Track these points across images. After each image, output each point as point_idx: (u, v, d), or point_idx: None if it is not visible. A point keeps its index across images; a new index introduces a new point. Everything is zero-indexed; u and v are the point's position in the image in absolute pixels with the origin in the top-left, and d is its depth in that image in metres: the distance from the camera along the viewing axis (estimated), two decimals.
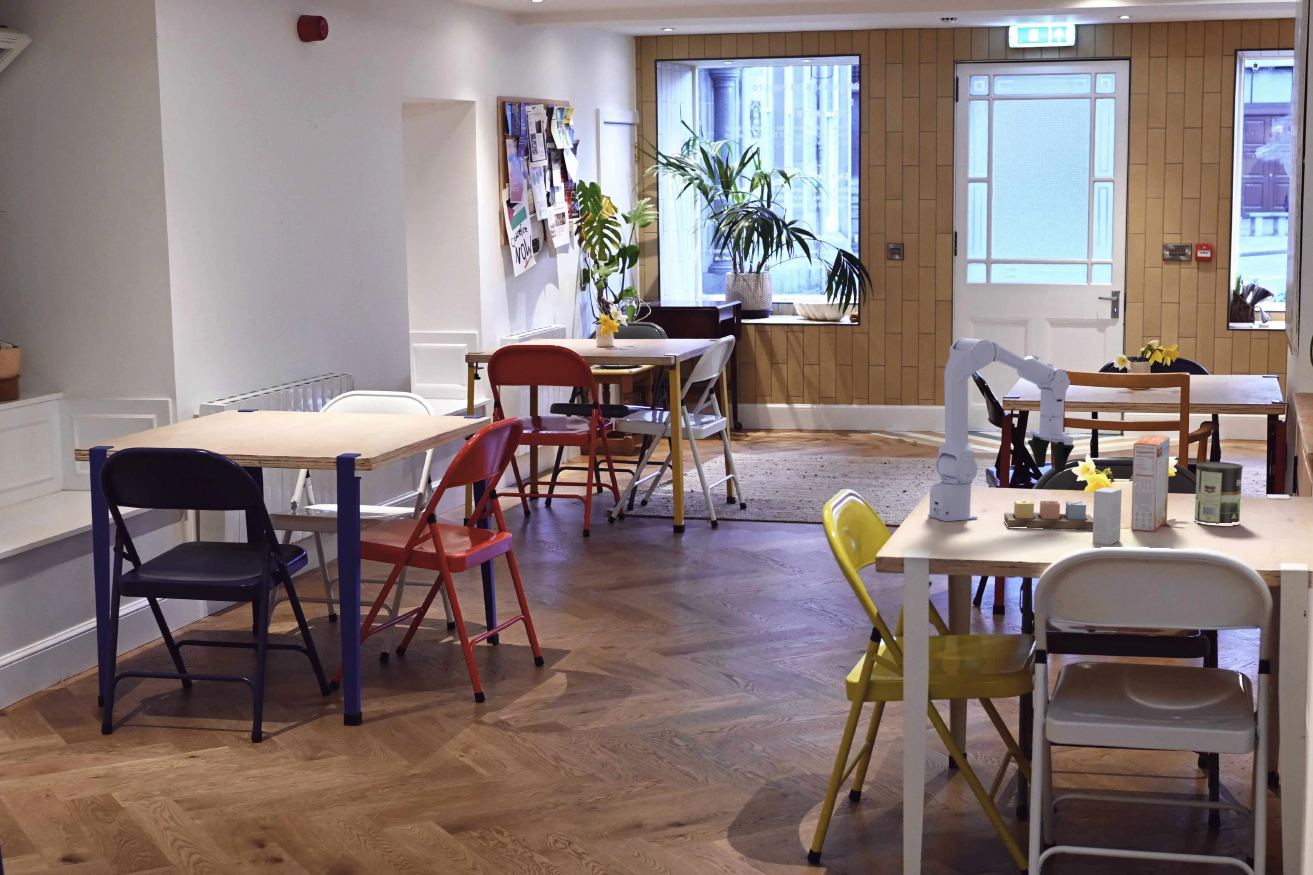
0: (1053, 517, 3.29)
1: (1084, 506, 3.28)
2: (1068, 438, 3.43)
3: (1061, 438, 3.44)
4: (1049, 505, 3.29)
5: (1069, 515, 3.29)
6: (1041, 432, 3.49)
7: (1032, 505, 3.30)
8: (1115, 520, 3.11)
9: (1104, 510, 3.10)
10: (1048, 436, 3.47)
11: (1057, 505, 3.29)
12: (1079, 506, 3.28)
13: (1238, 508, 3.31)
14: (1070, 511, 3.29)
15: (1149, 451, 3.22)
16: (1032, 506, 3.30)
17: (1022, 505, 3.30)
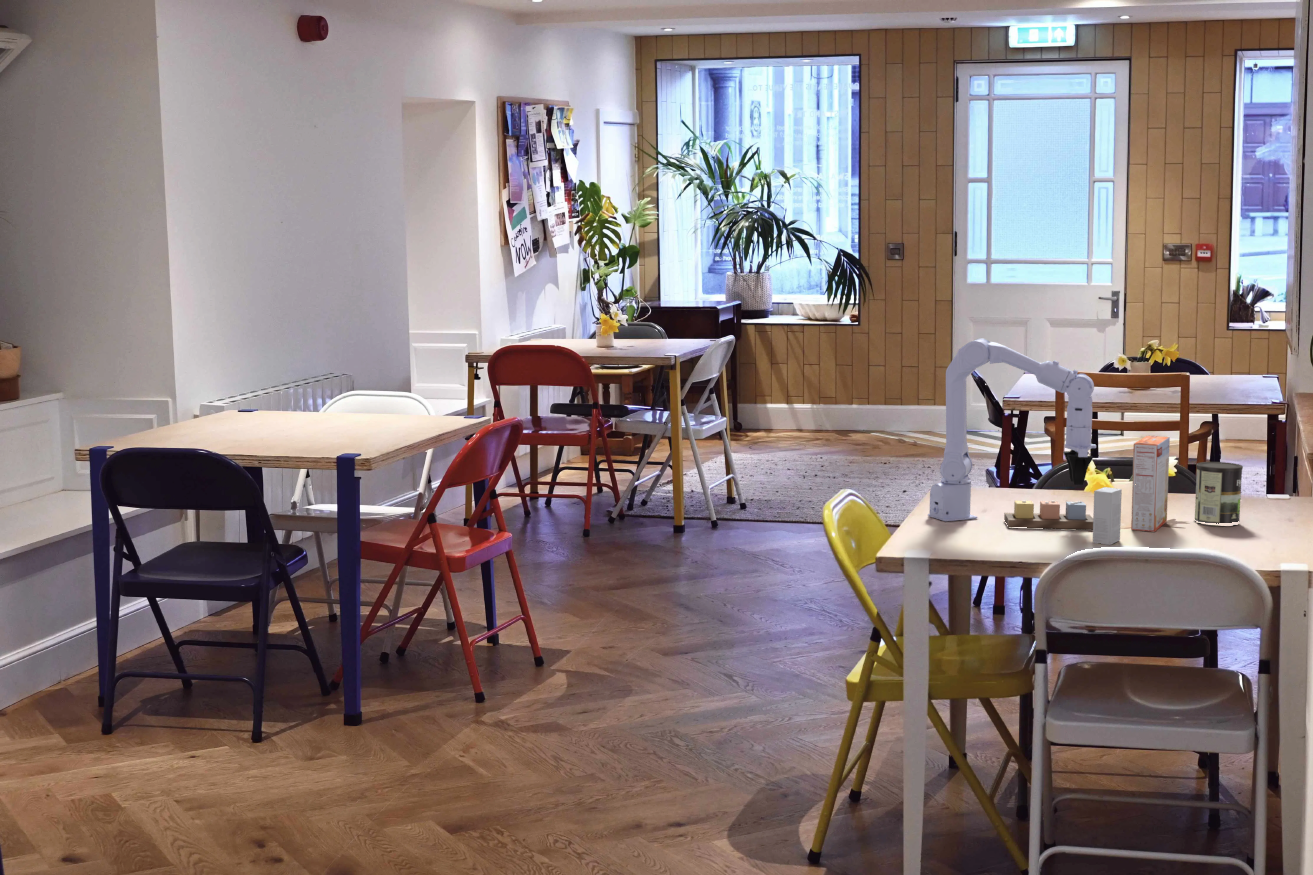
0: (1053, 517, 3.29)
1: (1084, 506, 3.28)
2: (1081, 450, 3.21)
3: (1076, 449, 3.23)
4: (1049, 505, 3.29)
5: (1069, 515, 3.29)
6: None
7: (1032, 505, 3.30)
8: (1115, 520, 3.11)
9: (1104, 510, 3.10)
10: (1068, 447, 3.27)
11: (1057, 505, 3.29)
12: (1079, 506, 3.28)
13: (1238, 508, 3.31)
14: (1070, 511, 3.29)
15: (1149, 451, 3.22)
16: (1032, 506, 3.30)
17: (1022, 505, 3.30)
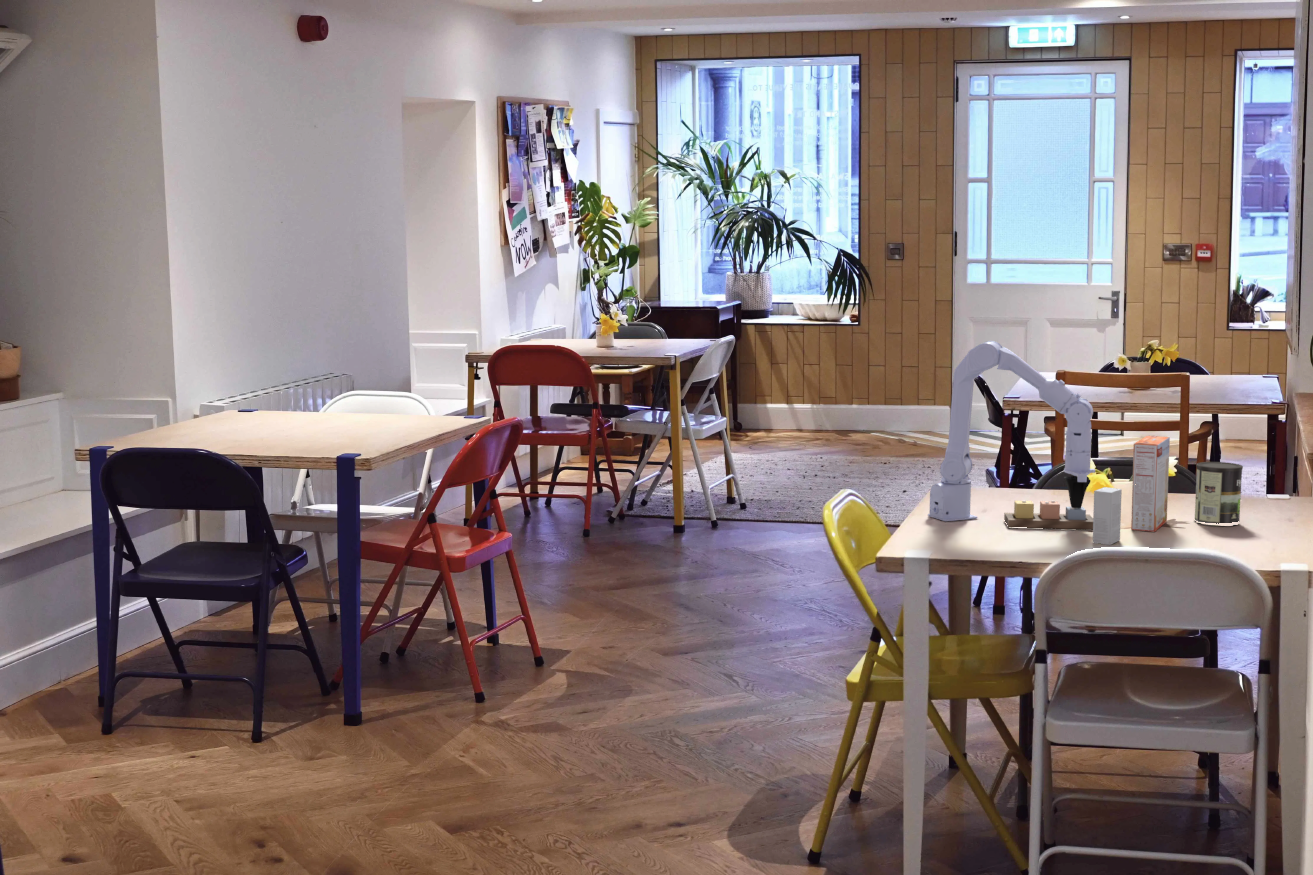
0: (1053, 517, 3.29)
1: (1084, 511, 3.28)
2: (1080, 475, 3.22)
3: (1076, 474, 3.24)
4: (1049, 505, 3.29)
5: None
6: (1065, 467, 3.30)
7: (1032, 505, 3.30)
8: (1115, 520, 3.11)
9: (1104, 510, 3.10)
10: (1068, 471, 3.27)
11: (1057, 505, 3.29)
12: (1079, 511, 3.28)
13: (1238, 508, 3.31)
14: (1070, 516, 3.29)
15: (1149, 451, 3.22)
16: (1032, 506, 3.30)
17: (1022, 505, 3.30)
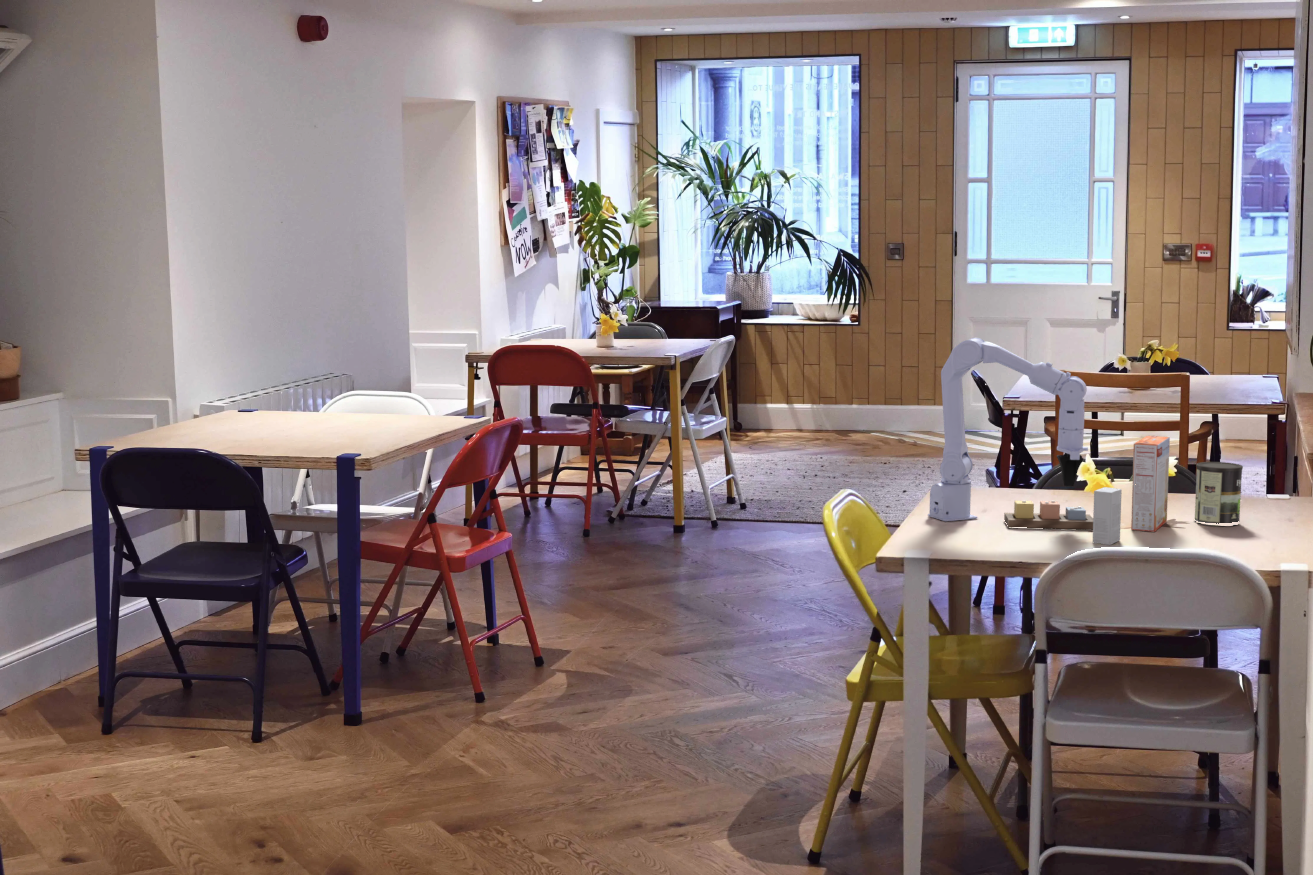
0: (1053, 517, 3.29)
1: (1084, 511, 3.28)
2: (1073, 453, 3.22)
3: (1068, 452, 3.23)
4: (1049, 505, 3.29)
5: None
6: (1058, 445, 3.29)
7: (1032, 505, 3.30)
8: (1115, 520, 3.11)
9: (1104, 510, 3.10)
10: (1060, 449, 3.27)
11: (1057, 505, 3.29)
12: (1079, 511, 3.28)
13: (1238, 508, 3.31)
14: (1070, 516, 3.29)
15: (1149, 451, 3.22)
16: (1032, 506, 3.30)
17: (1022, 505, 3.30)
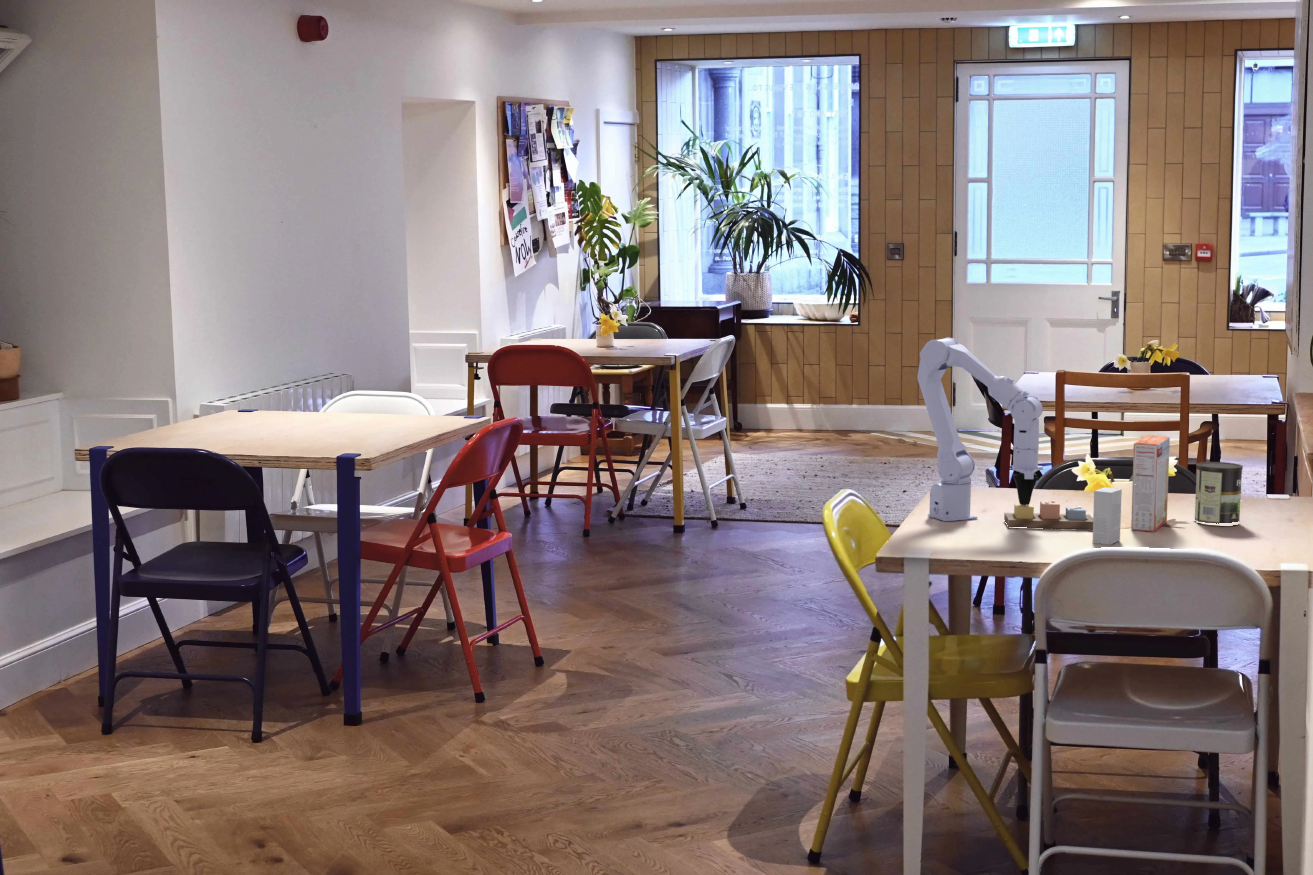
0: (1053, 517, 3.29)
1: (1084, 511, 3.28)
2: (1027, 472, 3.24)
3: (1023, 472, 3.25)
4: (1049, 505, 3.29)
5: None
6: (1013, 464, 3.31)
7: (1032, 508, 3.30)
8: (1115, 520, 3.11)
9: (1104, 510, 3.10)
10: (1015, 469, 3.29)
11: (1057, 505, 3.29)
12: (1079, 511, 3.28)
13: (1238, 508, 3.31)
14: (1070, 516, 3.29)
15: (1149, 451, 3.22)
16: (1032, 509, 3.30)
17: (1022, 508, 3.30)
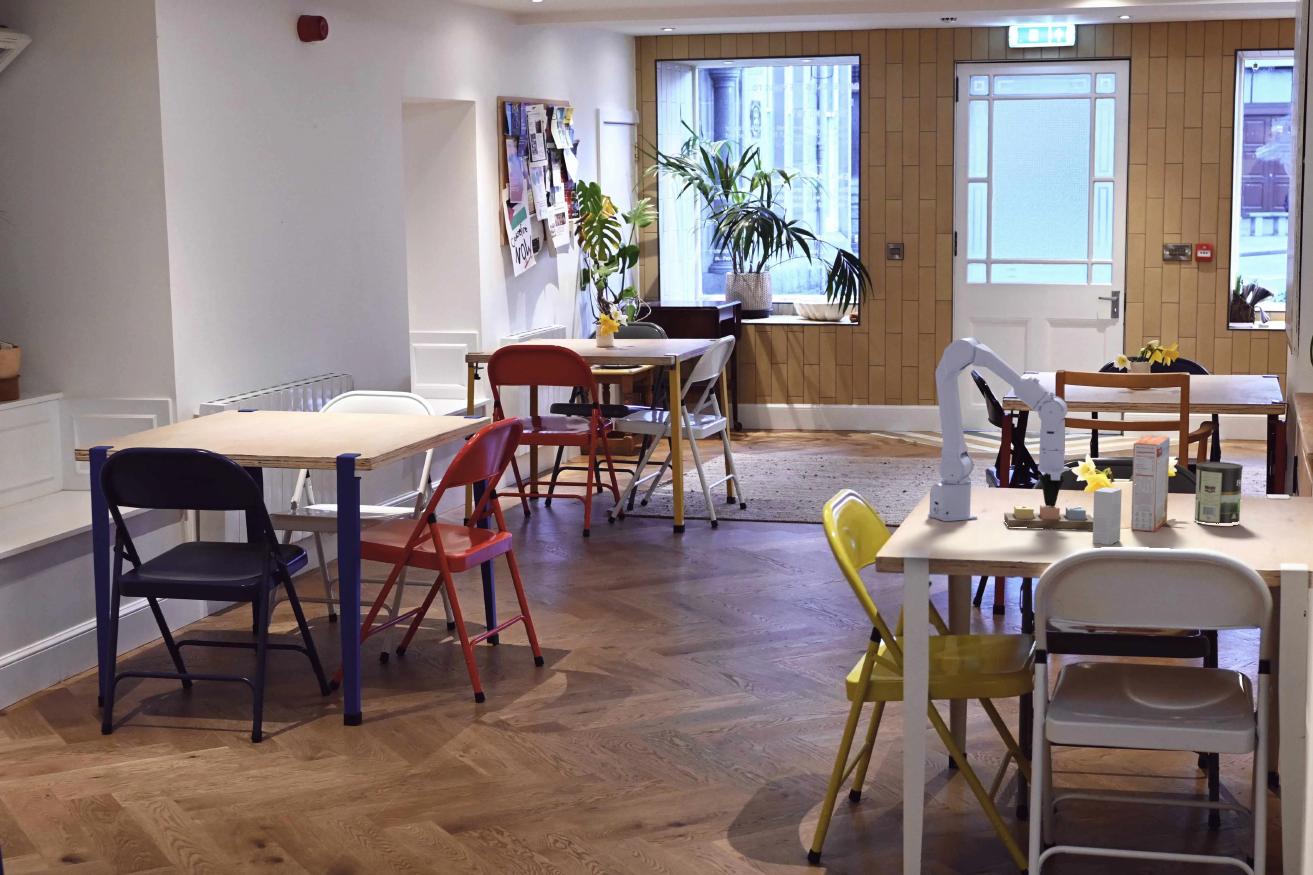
0: None
1: (1084, 511, 3.28)
2: (1053, 473, 3.23)
3: (1049, 473, 3.25)
4: (1049, 509, 3.29)
5: None
6: (1039, 465, 3.30)
7: (1032, 510, 3.30)
8: (1115, 520, 3.11)
9: (1104, 510, 3.10)
10: (1041, 470, 3.28)
11: (1057, 509, 3.29)
12: (1079, 511, 3.28)
13: (1238, 508, 3.31)
14: (1070, 516, 3.29)
15: (1149, 451, 3.22)
16: (1032, 511, 3.30)
17: (1022, 510, 3.30)
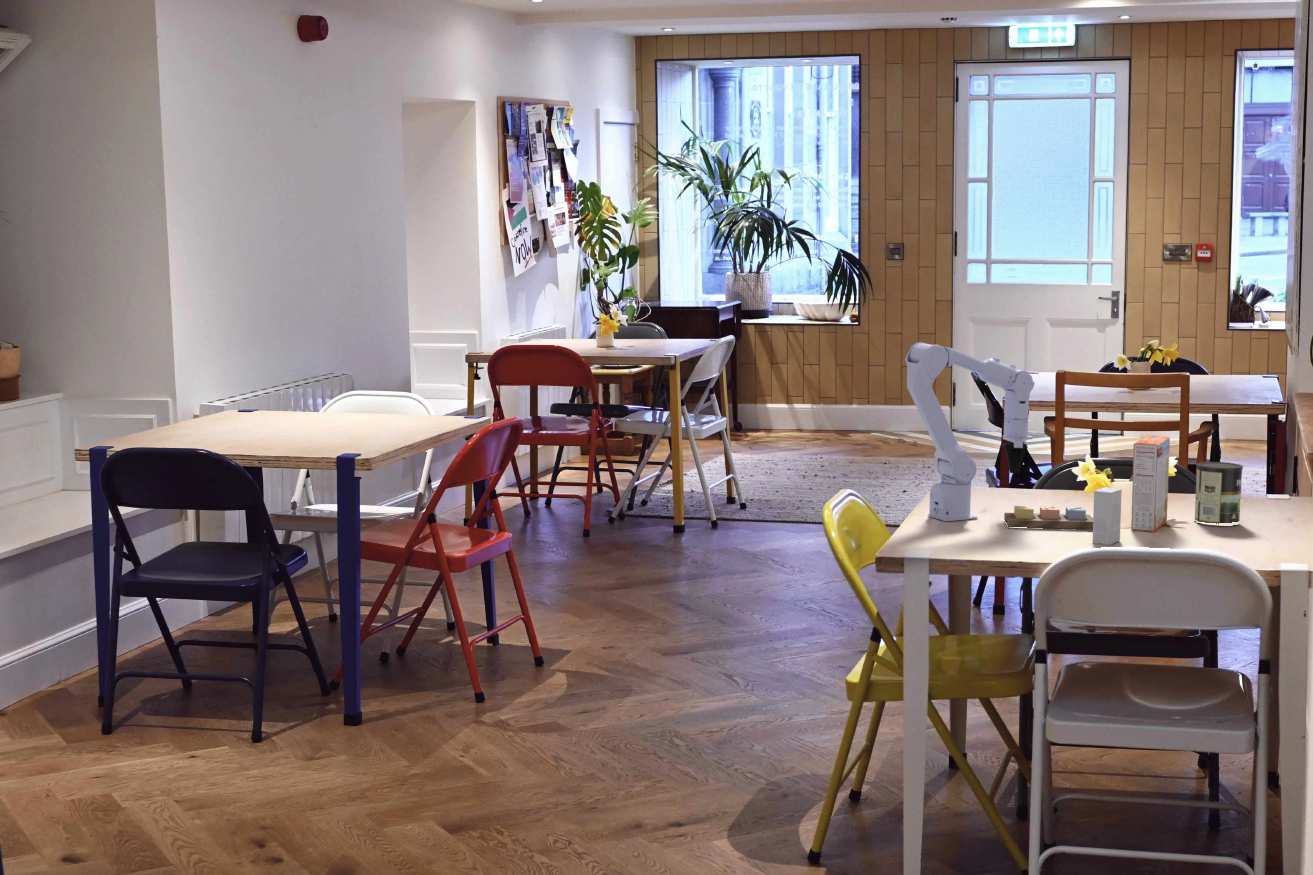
0: None
1: (1084, 511, 3.28)
2: (1016, 441, 3.36)
3: (1012, 441, 3.38)
4: (1049, 510, 3.29)
5: None
6: None
7: (1032, 510, 3.30)
8: (1115, 520, 3.11)
9: (1104, 510, 3.10)
10: (1006, 438, 3.41)
11: (1057, 510, 3.29)
12: (1079, 511, 3.28)
13: (1238, 508, 3.31)
14: (1070, 516, 3.29)
15: (1149, 451, 3.22)
16: (1032, 511, 3.30)
17: (1022, 510, 3.30)
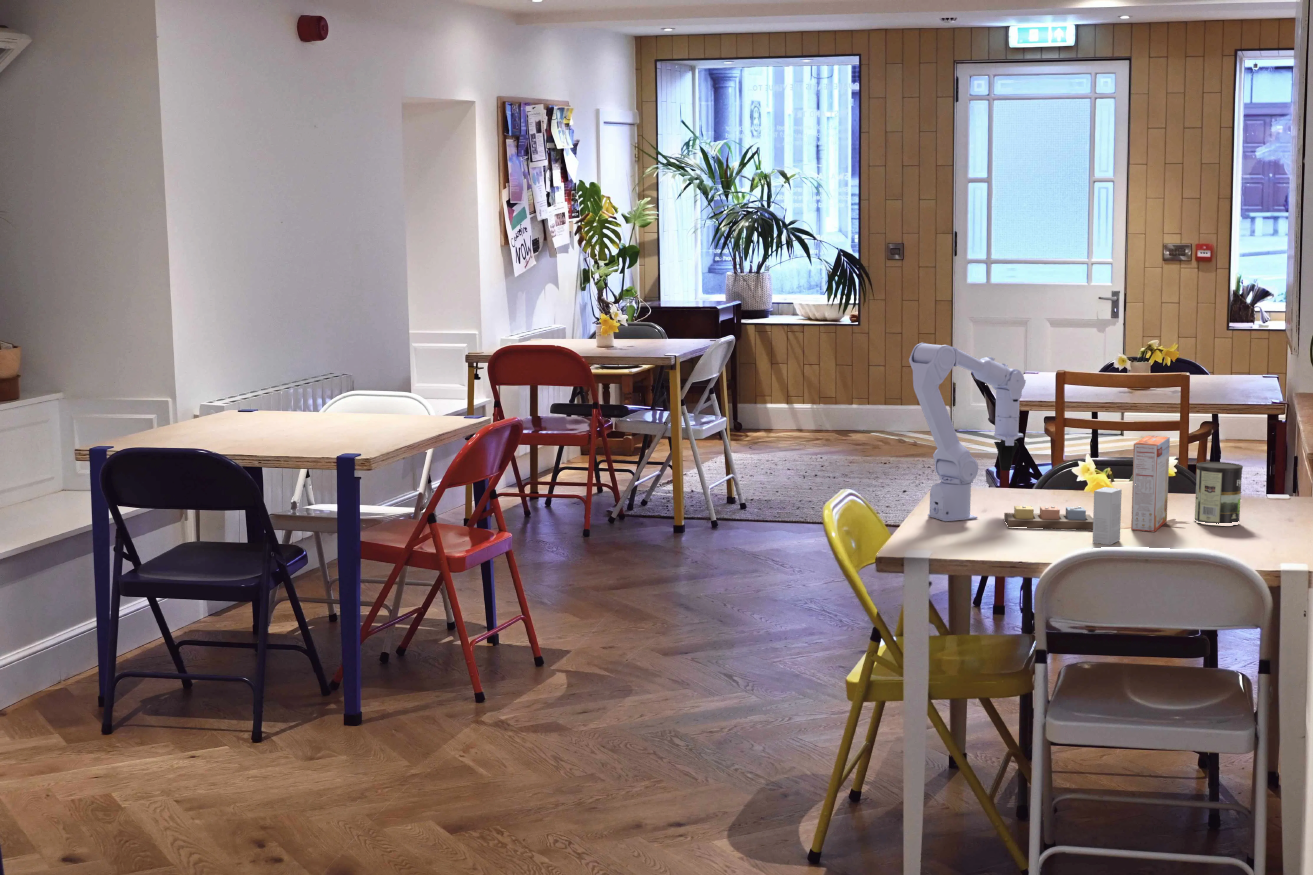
0: None
1: (1084, 511, 3.28)
2: (1008, 439, 3.40)
3: (1004, 438, 3.42)
4: (1049, 510, 3.29)
5: None
6: (995, 432, 3.47)
7: (1032, 510, 3.30)
8: (1115, 520, 3.11)
9: (1104, 510, 3.10)
10: (997, 436, 3.45)
11: (1057, 510, 3.29)
12: (1079, 511, 3.28)
13: (1238, 508, 3.31)
14: (1070, 516, 3.29)
15: (1149, 451, 3.22)
16: (1032, 511, 3.30)
17: (1022, 510, 3.30)
